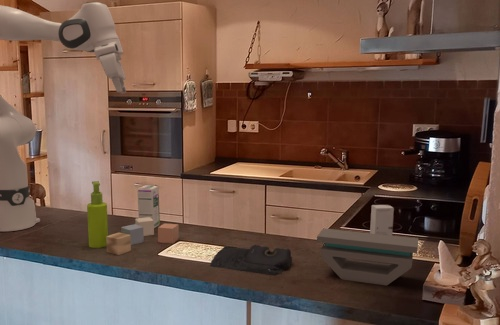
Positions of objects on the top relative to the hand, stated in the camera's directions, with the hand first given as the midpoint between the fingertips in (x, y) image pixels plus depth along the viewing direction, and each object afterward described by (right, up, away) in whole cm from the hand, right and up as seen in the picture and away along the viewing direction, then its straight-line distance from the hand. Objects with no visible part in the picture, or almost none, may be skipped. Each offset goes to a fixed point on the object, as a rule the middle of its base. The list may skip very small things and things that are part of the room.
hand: (121, 92), depth 164 cm
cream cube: (+7, -47, +5) cm, 48 cm away
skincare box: (+85, -49, -4) cm, 98 cm away
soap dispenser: (-5, -49, -7) cm, 50 cm away
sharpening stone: (+73, -54, -33) cm, 96 cm away
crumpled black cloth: (+43, -52, -22) cm, 71 cm away
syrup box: (+6, -46, +13) cm, 48 cm away
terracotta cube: (+16, -49, -3) cm, 51 cm away
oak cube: (+3, -50, -14) cm, 52 cm away
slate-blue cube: (+5, -49, -5) cm, 49 cm away
